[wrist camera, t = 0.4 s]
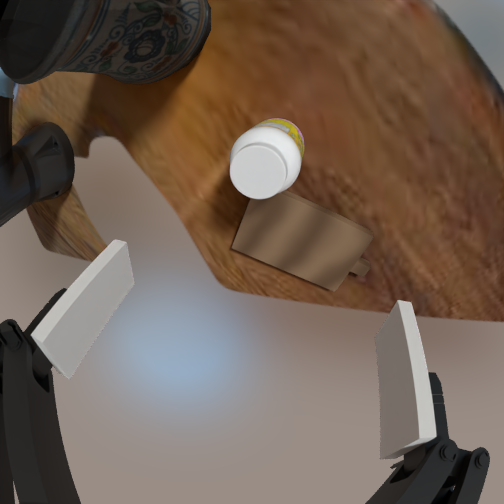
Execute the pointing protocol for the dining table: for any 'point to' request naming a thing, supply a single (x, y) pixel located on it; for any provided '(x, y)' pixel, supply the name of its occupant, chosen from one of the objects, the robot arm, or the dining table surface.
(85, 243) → the dining table surface
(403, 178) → the dining table surface
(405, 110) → the dining table surface
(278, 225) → the walnut board
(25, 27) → the beer stein
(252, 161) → the supplement bottle
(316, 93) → the dining table surface
